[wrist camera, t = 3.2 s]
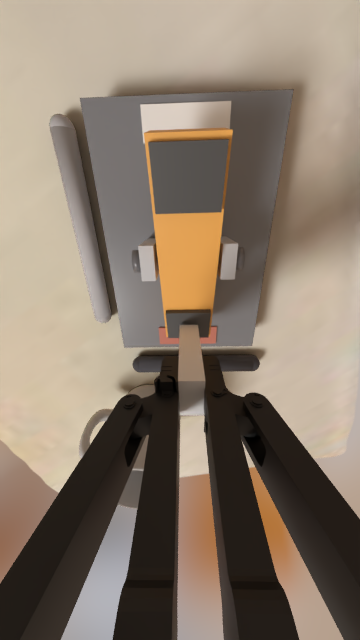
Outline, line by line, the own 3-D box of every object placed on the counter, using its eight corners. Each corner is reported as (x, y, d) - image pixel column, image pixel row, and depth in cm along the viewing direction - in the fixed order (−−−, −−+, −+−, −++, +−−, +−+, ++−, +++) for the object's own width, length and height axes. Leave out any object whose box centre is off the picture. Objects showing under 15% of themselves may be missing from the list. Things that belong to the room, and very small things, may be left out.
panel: (96, 116, 16) (37, 51, 10) (275, 109, 16) (340, 37, 10) (130, 333, 26) (112, 375, 19) (244, 331, 25) (266, 374, 19)
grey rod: (54, 119, 17) (40, 109, 15) (76, 118, 17) (65, 108, 15) (99, 318, 25) (93, 326, 23) (114, 318, 25) (109, 325, 23)
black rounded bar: (133, 353, 27) (130, 363, 25) (257, 351, 27) (263, 361, 25) (135, 365, 28) (132, 375, 26) (255, 364, 28) (260, 374, 26)
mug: (188, 392, 30) (191, 478, 20) (170, 428, 34) (165, 515, 24) (106, 370, 29) (66, 453, 19) (96, 411, 32) (59, 497, 23)
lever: (149, 130, 11) (142, 133, 9) (224, 127, 11) (234, 130, 9) (167, 318, 21) (166, 340, 19) (207, 317, 21) (210, 339, 19)
